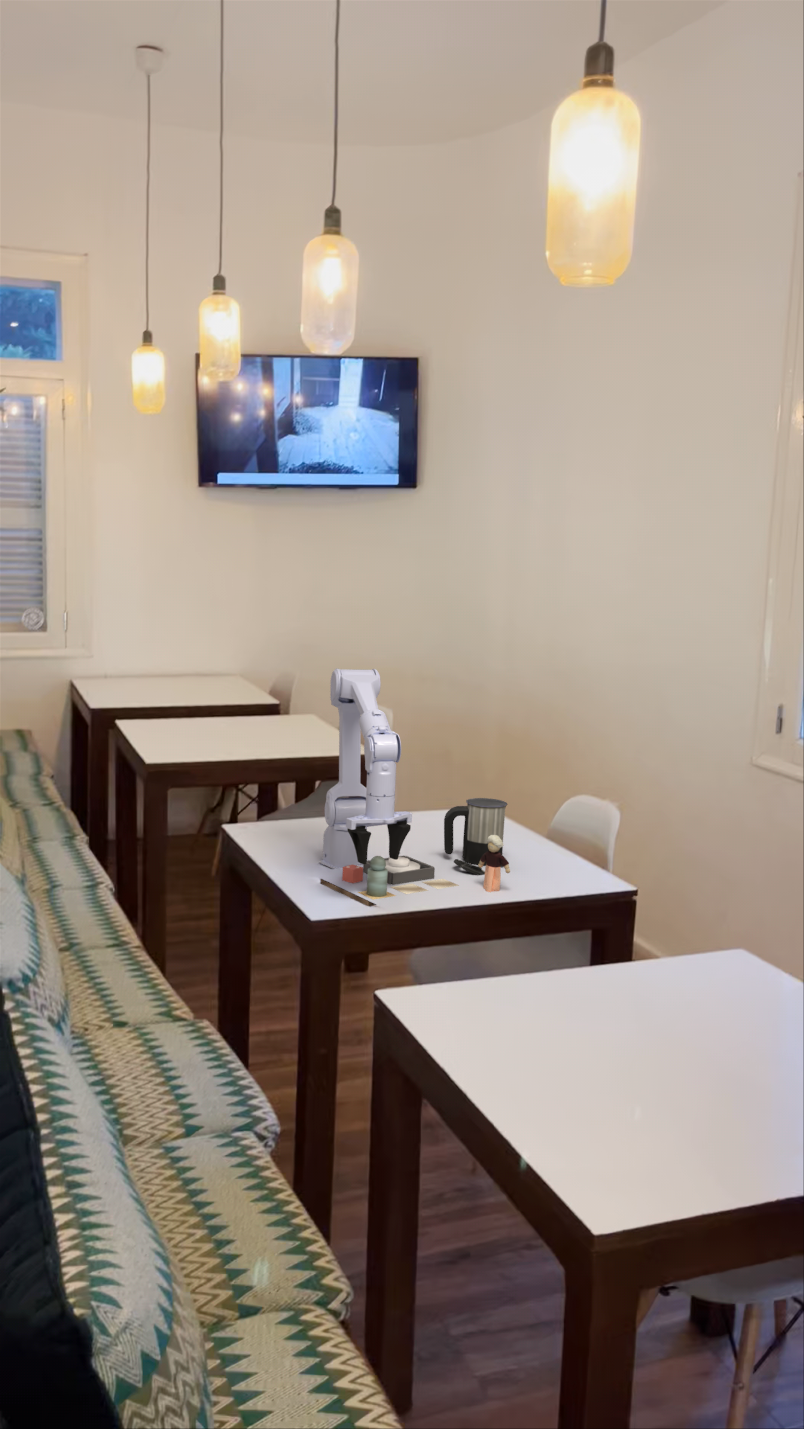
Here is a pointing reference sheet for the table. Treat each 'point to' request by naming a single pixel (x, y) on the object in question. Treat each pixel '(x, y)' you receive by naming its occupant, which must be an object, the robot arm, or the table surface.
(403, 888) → the flat thin brownish pieces
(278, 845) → the table surface
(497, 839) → the grandmother figurine
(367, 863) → the dark grey square tray
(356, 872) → the die
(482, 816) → the milk frother
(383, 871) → the pawn
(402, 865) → the white stepped disc
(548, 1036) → the table surface
